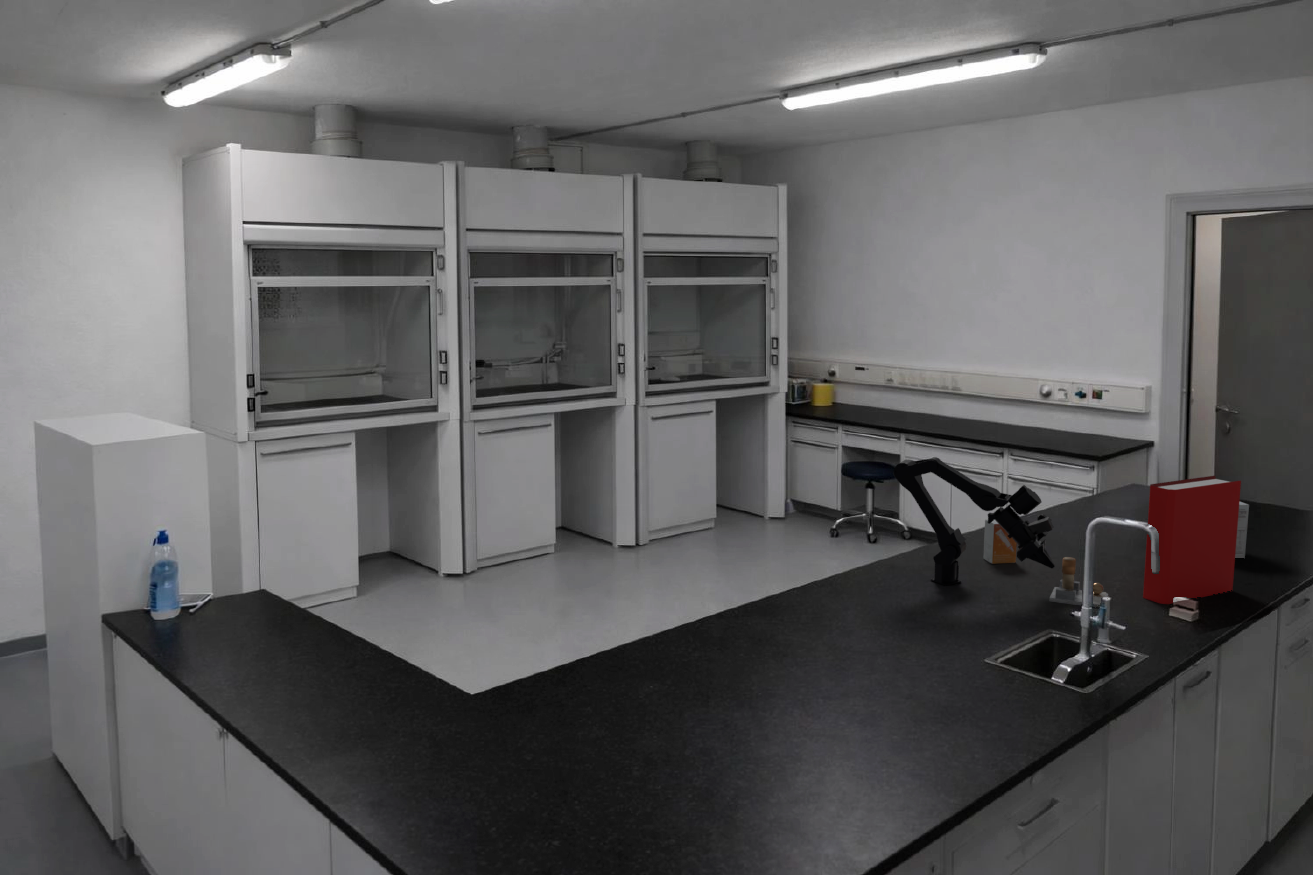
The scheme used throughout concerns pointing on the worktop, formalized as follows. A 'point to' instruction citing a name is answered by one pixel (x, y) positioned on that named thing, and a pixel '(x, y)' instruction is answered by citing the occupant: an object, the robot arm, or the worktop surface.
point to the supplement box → (1242, 530)
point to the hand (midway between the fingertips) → (1053, 567)
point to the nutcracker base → (1076, 594)
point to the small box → (998, 544)
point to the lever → (1068, 572)
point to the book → (1192, 538)
